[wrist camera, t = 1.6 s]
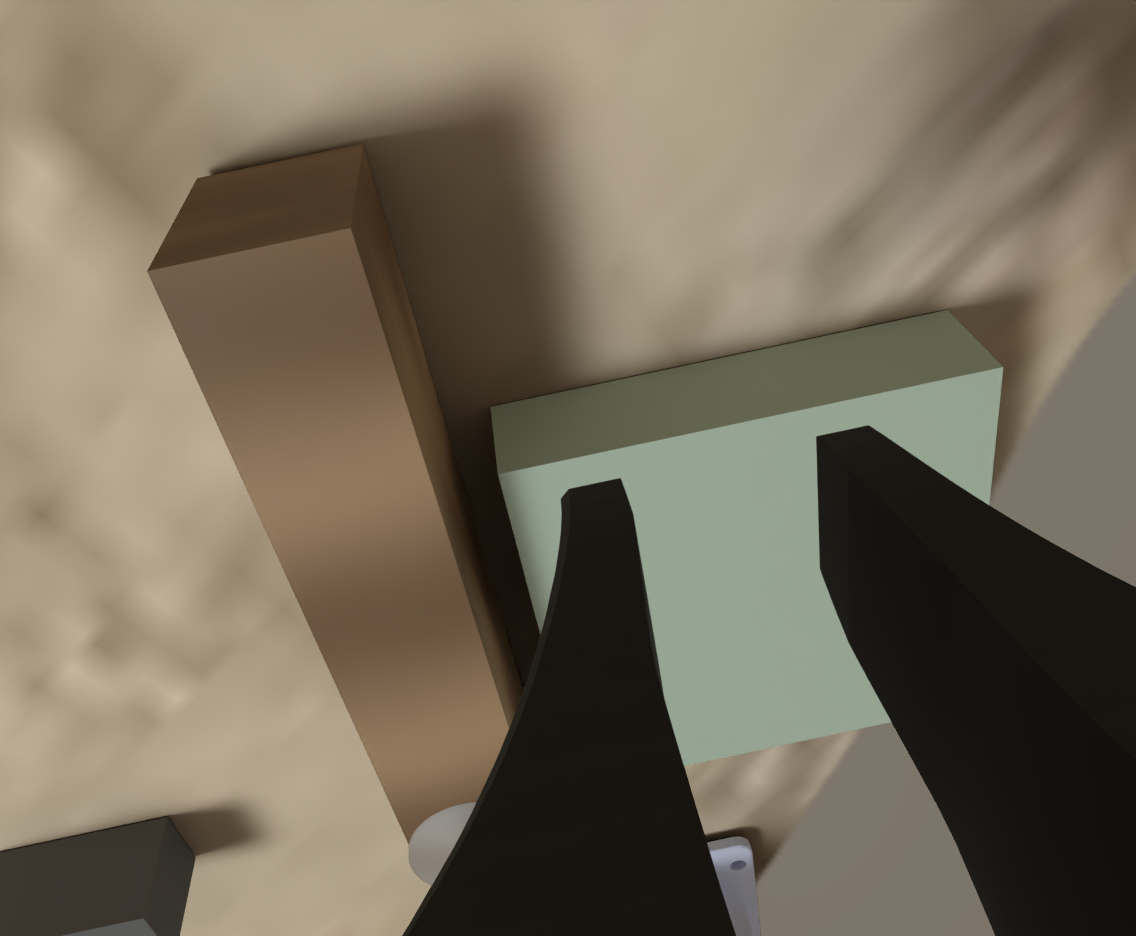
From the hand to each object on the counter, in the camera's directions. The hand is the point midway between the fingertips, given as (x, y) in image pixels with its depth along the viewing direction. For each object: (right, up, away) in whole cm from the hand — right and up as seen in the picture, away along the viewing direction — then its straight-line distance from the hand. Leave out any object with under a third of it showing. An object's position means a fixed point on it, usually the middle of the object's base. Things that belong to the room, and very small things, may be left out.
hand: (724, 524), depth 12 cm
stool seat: (+2, -1, +13) cm, 13 cm away
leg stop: (-15, -10, +17) cm, 25 cm away
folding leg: (-6, -1, +11) cm, 12 cm away
